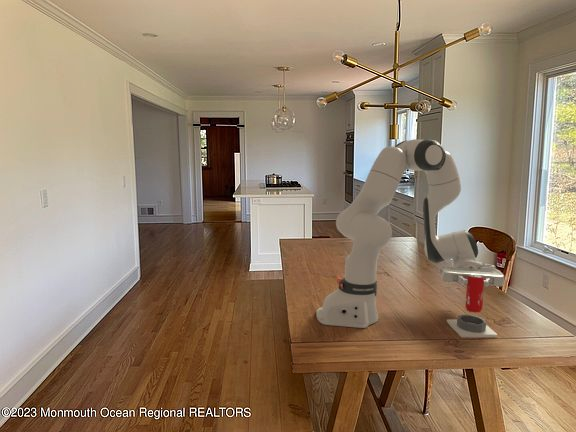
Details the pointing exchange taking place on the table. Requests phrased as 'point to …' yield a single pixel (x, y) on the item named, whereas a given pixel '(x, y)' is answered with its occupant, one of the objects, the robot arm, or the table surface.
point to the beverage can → (474, 293)
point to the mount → (471, 326)
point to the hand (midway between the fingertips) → (475, 283)
